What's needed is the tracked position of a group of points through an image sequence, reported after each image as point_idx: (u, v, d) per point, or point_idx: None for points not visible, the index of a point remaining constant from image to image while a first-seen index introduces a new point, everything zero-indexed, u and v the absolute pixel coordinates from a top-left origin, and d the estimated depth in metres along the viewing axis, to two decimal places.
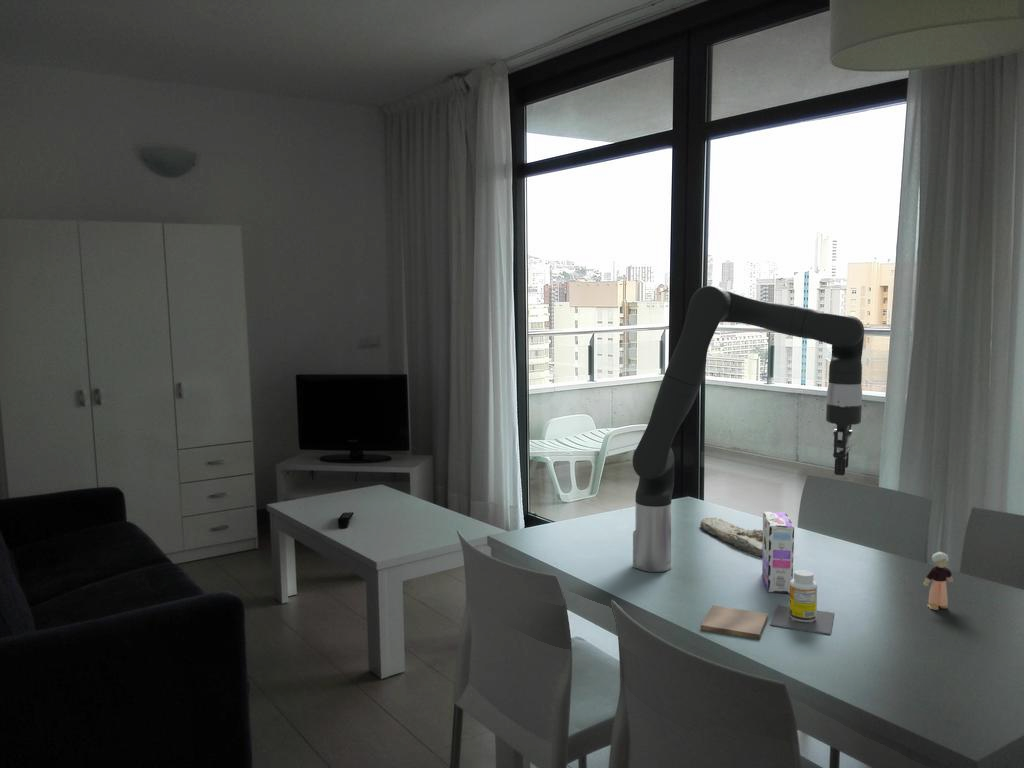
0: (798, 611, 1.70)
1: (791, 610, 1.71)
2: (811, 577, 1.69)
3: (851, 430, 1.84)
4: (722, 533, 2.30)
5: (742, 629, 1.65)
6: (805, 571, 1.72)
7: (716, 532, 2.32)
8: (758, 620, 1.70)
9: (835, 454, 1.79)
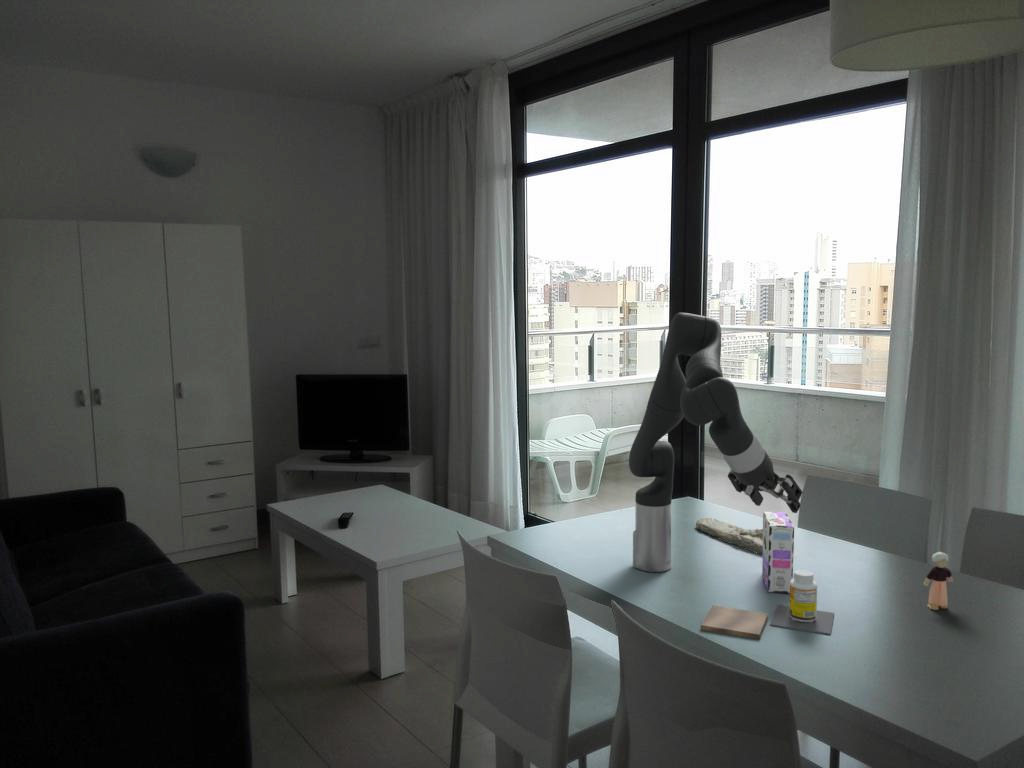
0: (798, 611, 1.70)
1: (791, 610, 1.71)
2: (811, 577, 1.69)
3: (760, 485, 1.57)
4: (723, 533, 2.29)
5: (742, 629, 1.65)
6: (805, 571, 1.72)
7: (716, 533, 2.31)
8: (758, 620, 1.70)
9: None
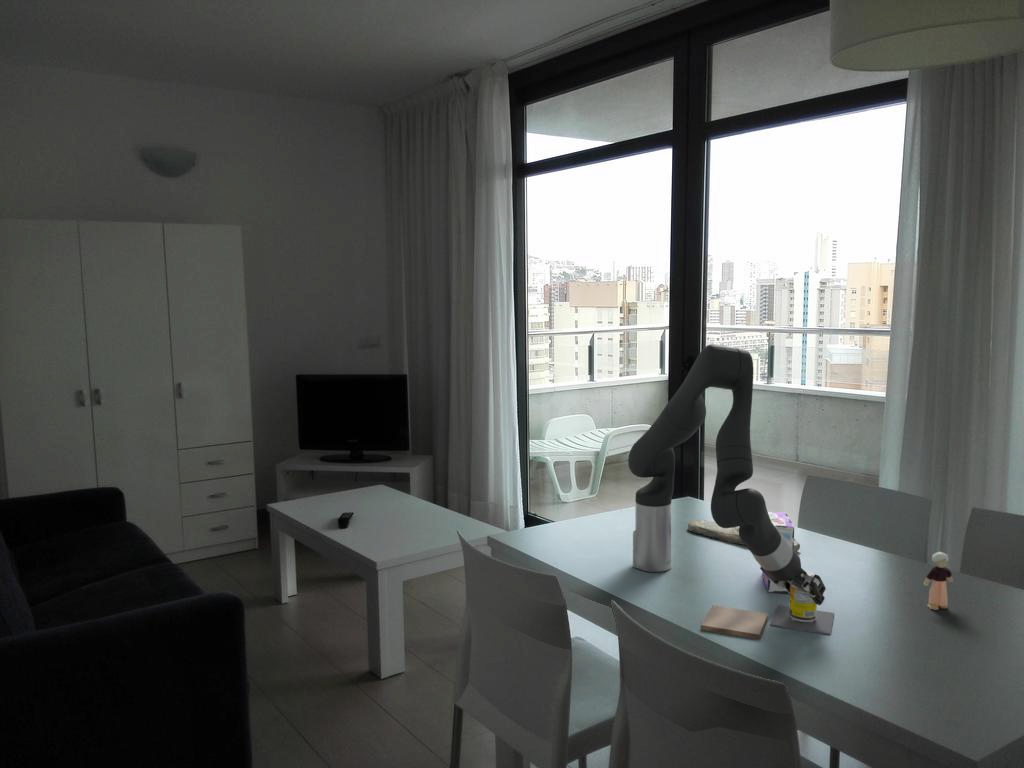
0: (798, 611, 1.70)
1: (791, 610, 1.71)
2: None
3: (789, 580, 1.66)
4: (727, 534, 2.28)
5: (742, 629, 1.65)
6: (805, 571, 1.72)
7: (718, 534, 2.30)
8: (758, 620, 1.70)
9: None
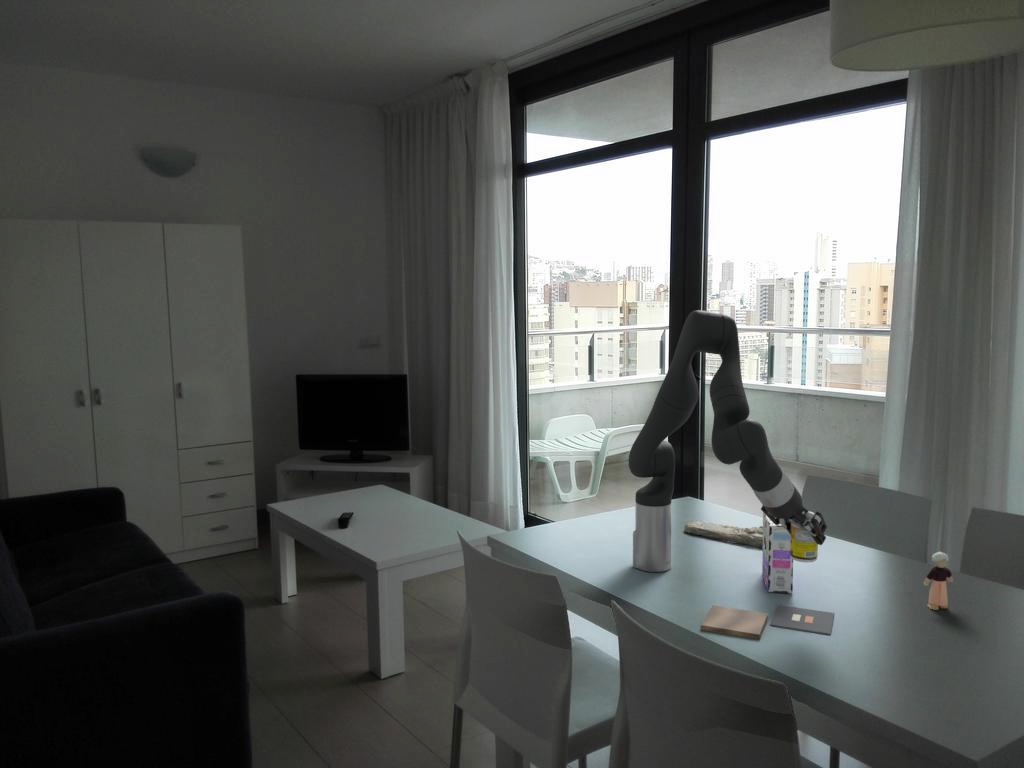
0: (799, 551, 1.68)
1: (792, 550, 1.70)
2: None
3: (790, 518, 1.65)
4: (729, 535, 2.28)
5: (742, 629, 1.65)
6: None
7: (719, 535, 2.29)
8: (758, 620, 1.70)
9: None
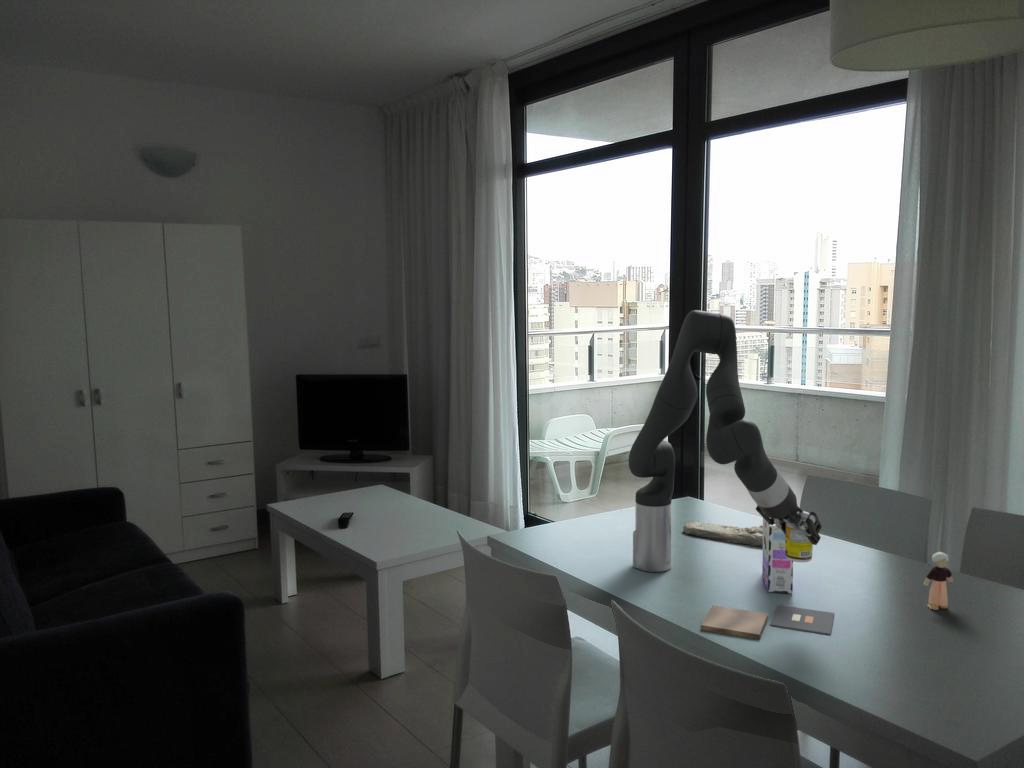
0: (794, 551, 1.68)
1: (787, 550, 1.70)
2: None
3: (785, 518, 1.65)
4: (730, 535, 2.28)
5: (742, 629, 1.65)
6: None
7: (720, 535, 2.29)
8: (758, 620, 1.70)
9: None
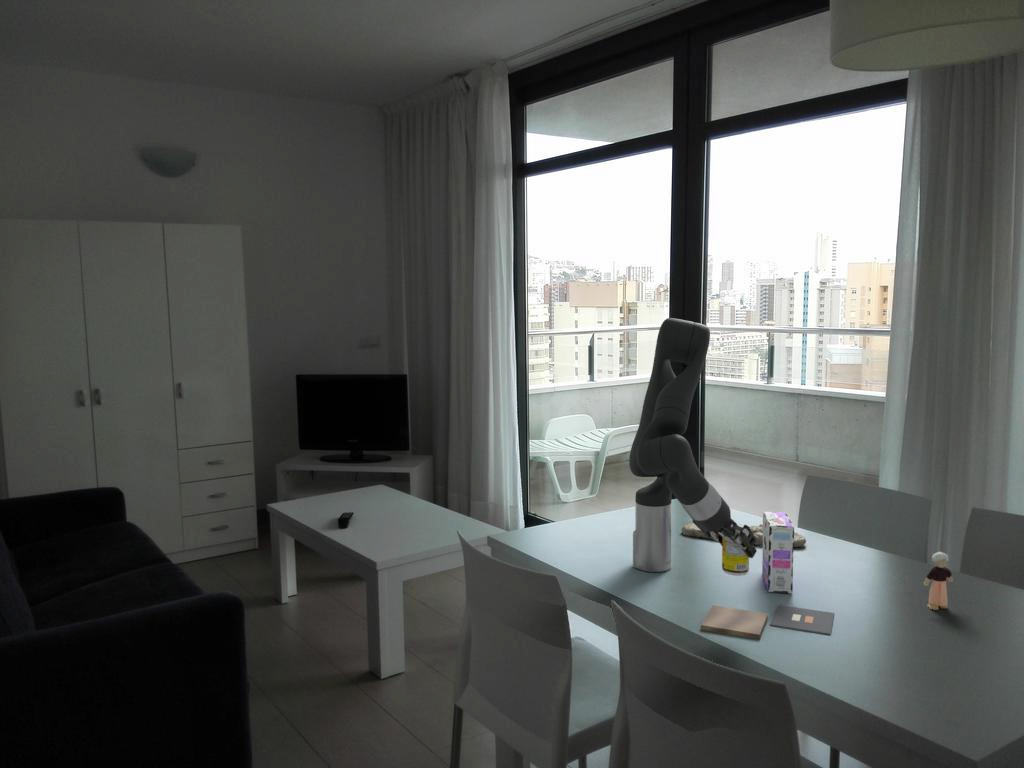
0: (730, 564, 1.67)
1: (723, 563, 1.68)
2: None
3: (719, 531, 1.63)
4: None
5: (742, 629, 1.65)
6: (738, 524, 1.69)
7: None
8: (758, 620, 1.70)
9: None
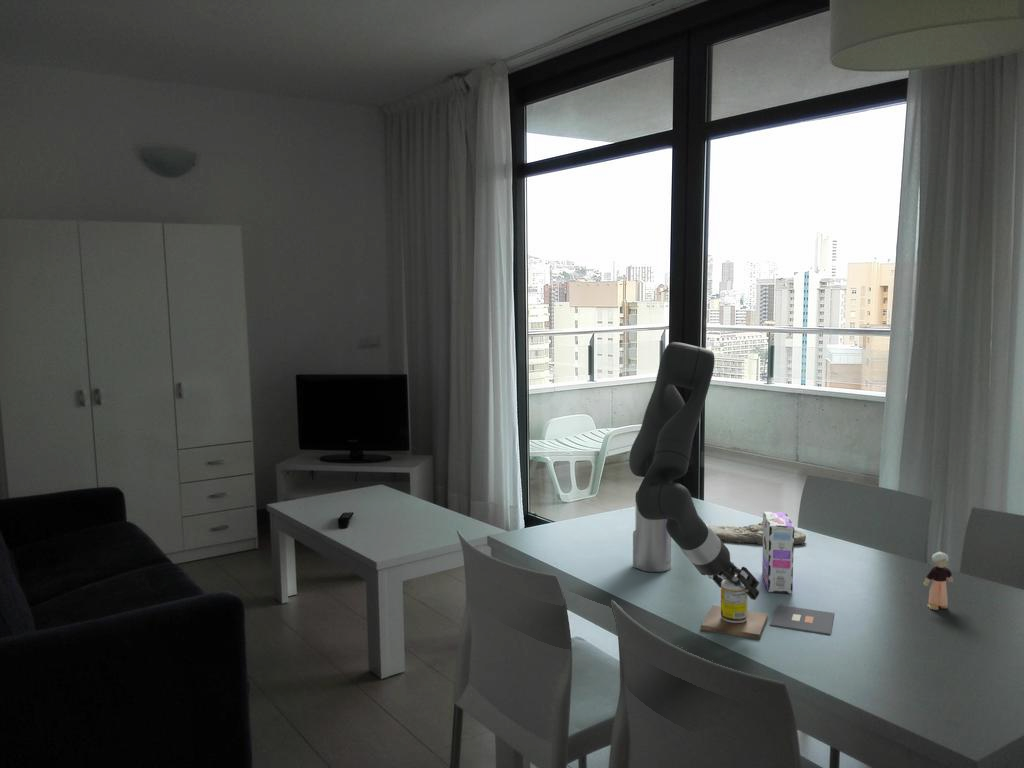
0: (728, 612, 1.68)
1: (722, 611, 1.70)
2: None
3: (719, 574, 1.64)
4: (734, 535, 2.27)
5: (742, 629, 1.65)
6: None
7: (724, 536, 2.28)
8: (758, 620, 1.70)
9: None
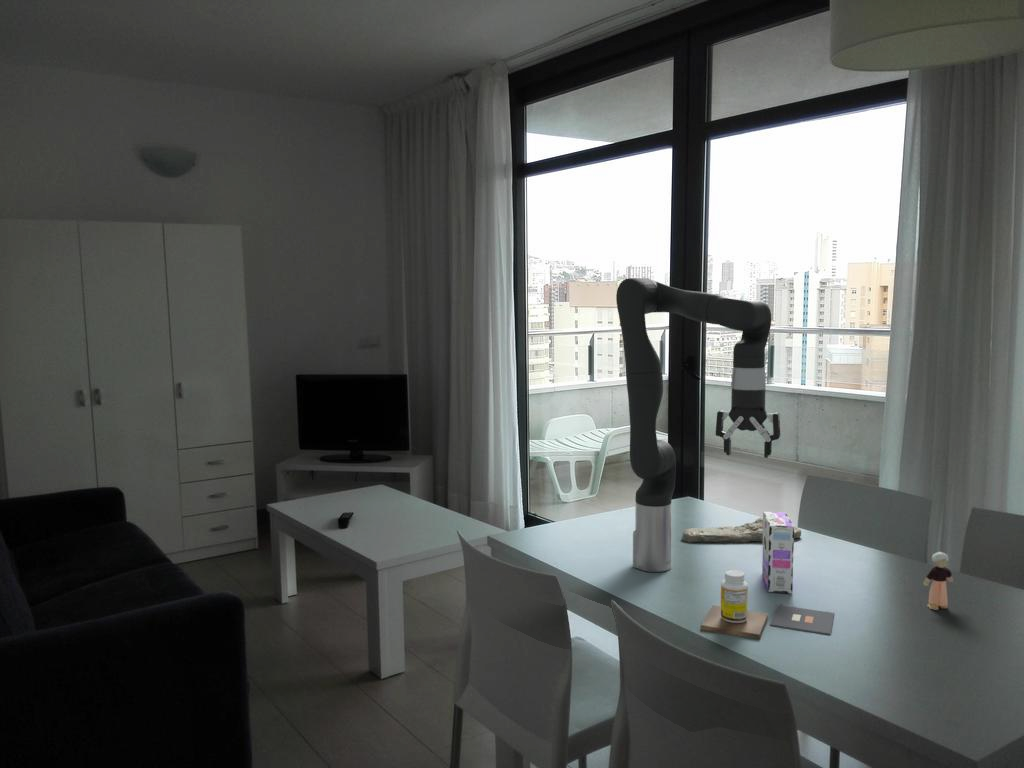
0: (728, 612, 1.68)
1: (722, 611, 1.70)
2: (741, 578, 1.68)
3: (752, 416, 1.81)
4: (738, 535, 2.27)
5: (742, 629, 1.65)
6: (736, 571, 1.70)
7: (729, 537, 2.27)
8: (758, 620, 1.70)
9: None
